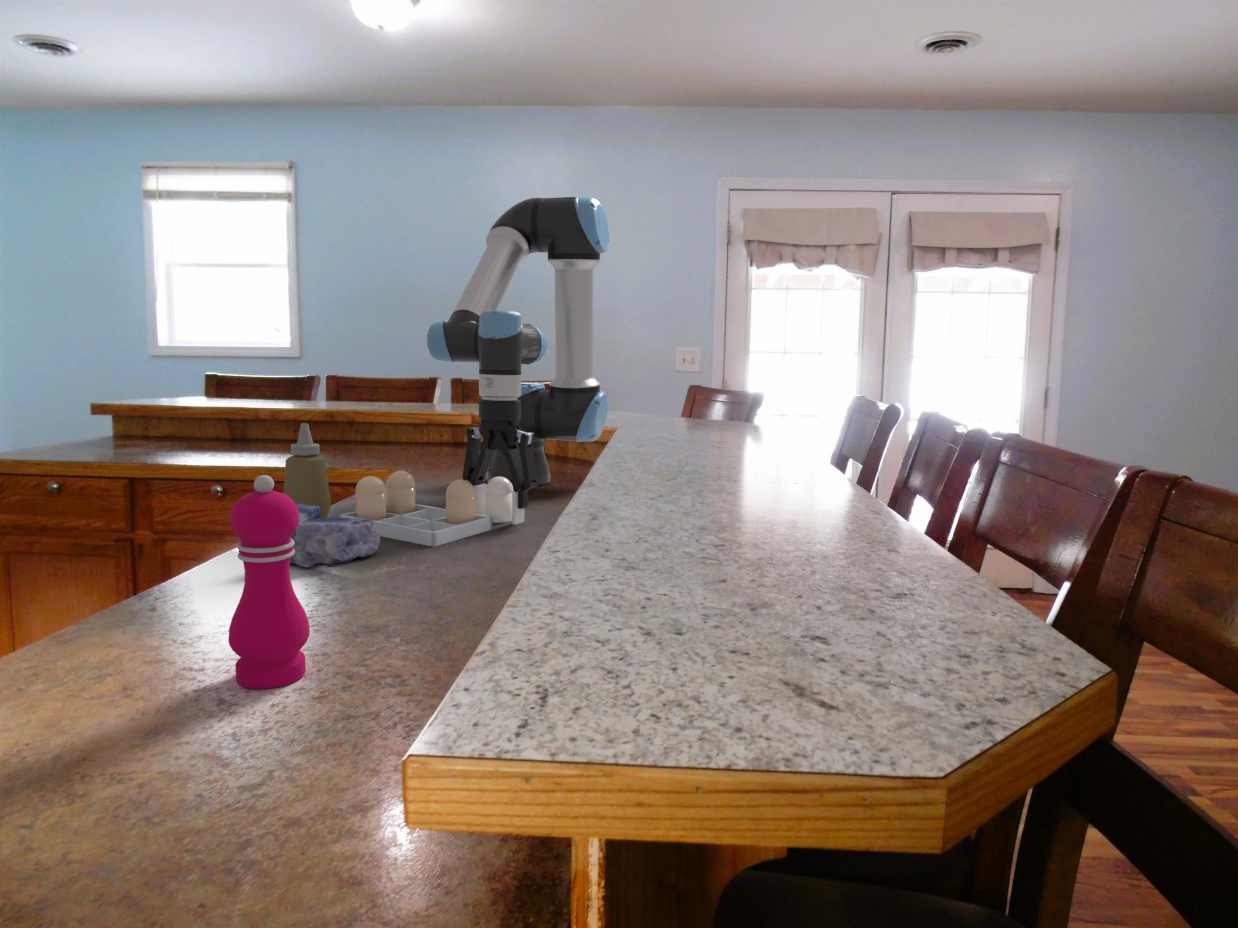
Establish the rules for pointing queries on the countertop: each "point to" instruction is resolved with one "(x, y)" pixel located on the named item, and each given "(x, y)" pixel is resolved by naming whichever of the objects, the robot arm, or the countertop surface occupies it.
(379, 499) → the brown egg
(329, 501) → the squeeze bottle
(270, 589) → the pepper mill
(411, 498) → the brown egg
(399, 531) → the carton
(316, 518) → the mineral
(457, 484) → the brown egg
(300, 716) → the countertop surface
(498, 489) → the egg
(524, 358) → the robot arm
